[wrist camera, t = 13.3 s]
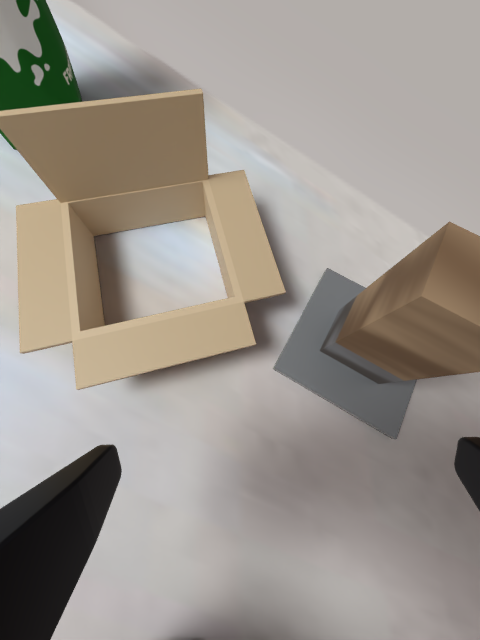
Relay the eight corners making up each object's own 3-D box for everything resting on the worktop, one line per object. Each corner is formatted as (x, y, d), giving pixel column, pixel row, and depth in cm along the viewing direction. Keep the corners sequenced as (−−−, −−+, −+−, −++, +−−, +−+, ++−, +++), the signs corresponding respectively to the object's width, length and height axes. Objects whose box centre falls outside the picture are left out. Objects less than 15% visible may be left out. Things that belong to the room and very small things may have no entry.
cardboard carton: (285, 345, 21) (338, 298, 11) (62, 403, 19) (-105, 403, 9) (240, 205, 25) (251, 82, 15) (51, 238, 23) (-75, 119, 13)
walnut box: (378, 383, 20) (551, 363, 9) (319, 350, 20) (421, 296, 10) (395, 339, 21) (565, 277, 11) (339, 309, 22) (449, 221, 11)
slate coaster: (391, 438, 19) (396, 439, 19) (272, 369, 20) (274, 367, 20) (430, 326, 22) (435, 324, 22) (324, 271, 23) (327, 267, 23)
